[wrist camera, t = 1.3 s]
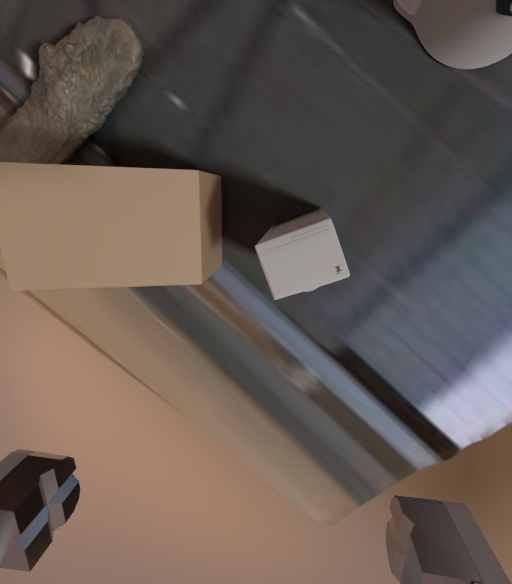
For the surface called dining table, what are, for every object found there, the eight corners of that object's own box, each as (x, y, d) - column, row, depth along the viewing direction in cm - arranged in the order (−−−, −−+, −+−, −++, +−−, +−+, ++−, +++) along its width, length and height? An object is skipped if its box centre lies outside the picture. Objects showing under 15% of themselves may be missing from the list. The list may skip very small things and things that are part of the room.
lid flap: (-15, 162, 30) (-19, 161, 30) (198, 170, 35) (198, 170, 34) (13, 289, 34) (10, 290, 34) (201, 282, 39) (201, 284, 38)
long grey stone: (-23, 174, 51) (23, 223, 53) (-57, 174, 46) (-5, 229, 48) (112, -5, 40) (164, 67, 42) (85, -29, 35) (145, 54, 37)
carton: (91, 173, 47) (38, 168, 37) (221, 176, 44) (199, 170, 35) (102, 259, 51) (56, 273, 41) (222, 265, 48) (203, 282, 39)
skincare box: (323, 207, 44) (334, 212, 29) (336, 251, 45) (354, 278, 30) (267, 227, 46) (251, 243, 31) (282, 269, 47) (274, 303, 32)
